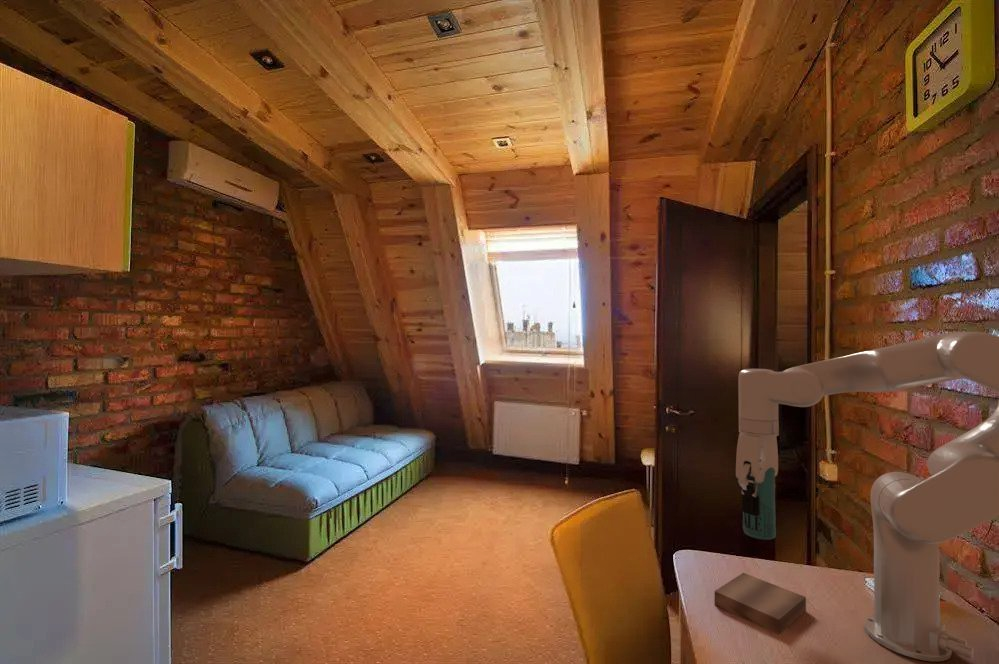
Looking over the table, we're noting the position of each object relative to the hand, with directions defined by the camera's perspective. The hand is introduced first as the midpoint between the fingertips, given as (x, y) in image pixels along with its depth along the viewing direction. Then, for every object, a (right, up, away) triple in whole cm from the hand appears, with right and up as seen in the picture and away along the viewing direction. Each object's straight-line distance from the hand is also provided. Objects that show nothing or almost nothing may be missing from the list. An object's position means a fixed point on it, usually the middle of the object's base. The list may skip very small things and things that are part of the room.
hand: (758, 509), depth 101 cm
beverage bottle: (0, -7, 0) cm, 7 cm away
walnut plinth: (0, -21, 0) cm, 21 cm away
